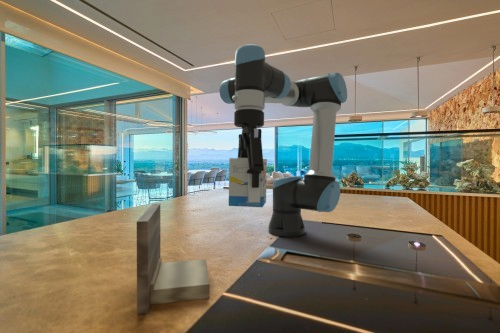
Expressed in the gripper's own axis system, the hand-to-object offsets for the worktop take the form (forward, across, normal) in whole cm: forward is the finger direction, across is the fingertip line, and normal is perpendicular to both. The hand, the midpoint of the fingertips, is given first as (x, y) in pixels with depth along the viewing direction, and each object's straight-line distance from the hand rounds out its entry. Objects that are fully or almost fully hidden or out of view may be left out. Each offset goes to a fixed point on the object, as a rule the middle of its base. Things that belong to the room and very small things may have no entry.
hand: (248, 198), depth 63 cm
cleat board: (+20, 0, -17) cm, 27 cm away
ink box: (+2, 0, 0) cm, 2 cm away
